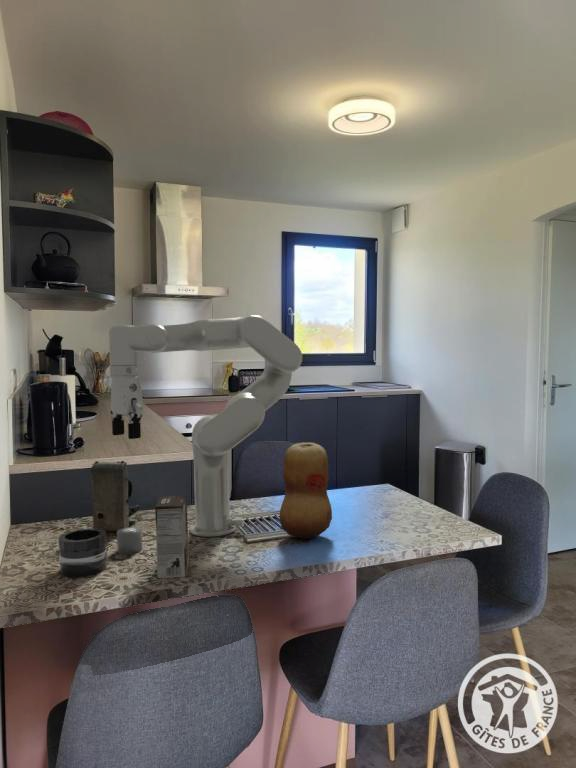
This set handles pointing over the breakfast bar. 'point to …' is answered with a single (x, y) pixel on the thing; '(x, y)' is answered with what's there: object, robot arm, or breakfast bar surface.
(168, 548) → the coffee box
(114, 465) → the vintage camera
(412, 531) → the breakfast bar surface
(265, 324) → the robot arm
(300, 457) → the butternut squash
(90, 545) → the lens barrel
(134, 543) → the white rounded cube
